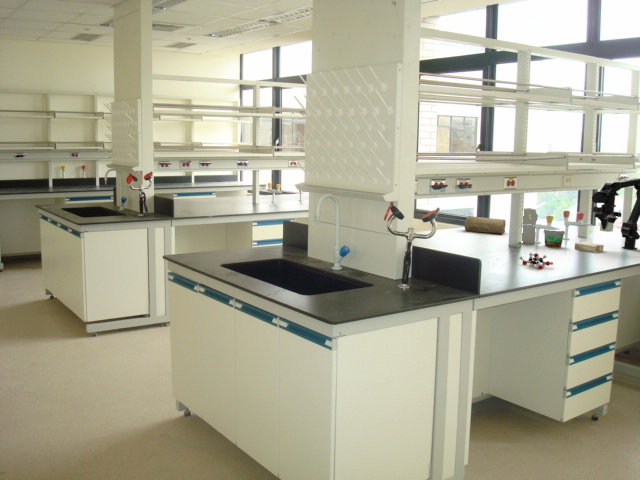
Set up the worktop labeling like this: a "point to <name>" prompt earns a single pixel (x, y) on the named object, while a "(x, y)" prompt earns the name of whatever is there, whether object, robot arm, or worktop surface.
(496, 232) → the core sample
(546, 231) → the food container
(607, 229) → the sage cube
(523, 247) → the worktop surface
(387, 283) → the worktop surface
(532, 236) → the grey tall slab
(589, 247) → the birch block
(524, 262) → the molecular model
